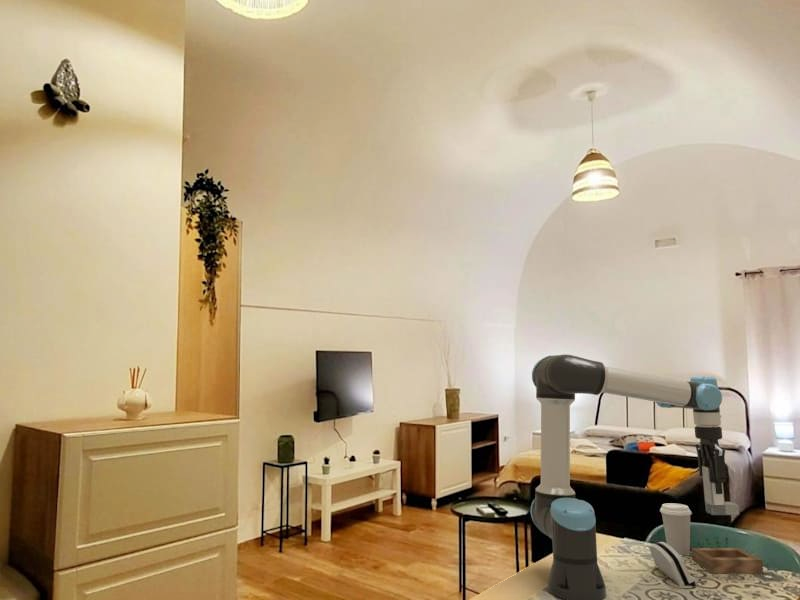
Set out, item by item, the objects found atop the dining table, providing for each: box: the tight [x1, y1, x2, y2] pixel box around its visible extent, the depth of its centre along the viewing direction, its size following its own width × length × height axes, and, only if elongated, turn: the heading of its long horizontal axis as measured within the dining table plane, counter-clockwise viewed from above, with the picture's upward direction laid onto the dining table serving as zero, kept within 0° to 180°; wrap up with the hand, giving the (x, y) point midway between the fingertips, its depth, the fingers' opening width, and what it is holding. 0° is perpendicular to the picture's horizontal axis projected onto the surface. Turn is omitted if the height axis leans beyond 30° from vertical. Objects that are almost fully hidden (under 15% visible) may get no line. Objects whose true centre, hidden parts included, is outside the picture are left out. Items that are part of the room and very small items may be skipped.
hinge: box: [648, 541, 699, 587], centre depth 166 cm, size 17×5×10 cm, turn 178°
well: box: [690, 547, 764, 575], centre depth 173 cm, size 15×12×4 cm
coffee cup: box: [659, 502, 693, 556], centre depth 187 cm, size 10×10×15 cm
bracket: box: [702, 466, 740, 516], centre depth 175 cm, size 8×4×14 cm, turn 88°
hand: (714, 502), depth 175 cm, fingers closed on bracket, 4 cm apart
